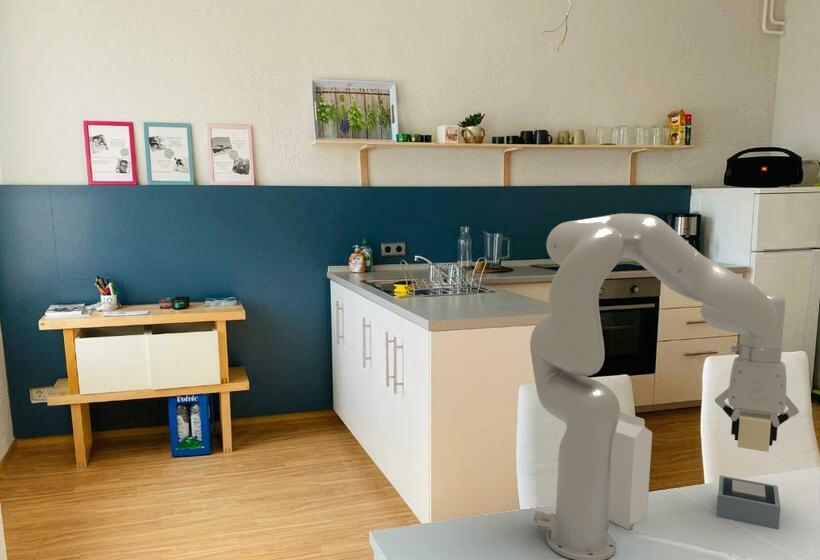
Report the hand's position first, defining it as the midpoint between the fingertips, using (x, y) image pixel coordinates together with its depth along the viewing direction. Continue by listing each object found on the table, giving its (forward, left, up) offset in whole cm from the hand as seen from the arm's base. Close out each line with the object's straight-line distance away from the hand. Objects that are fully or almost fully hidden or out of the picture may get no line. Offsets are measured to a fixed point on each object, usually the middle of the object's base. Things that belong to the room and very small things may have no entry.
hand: (753, 440), depth 133 cm
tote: (0, 0, -16) cm, 16 cm away
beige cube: (0, 0, -1) cm, 1 cm away
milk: (-22, -14, -16) cm, 31 cm away
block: (0, 0, -15) cm, 15 cm away
